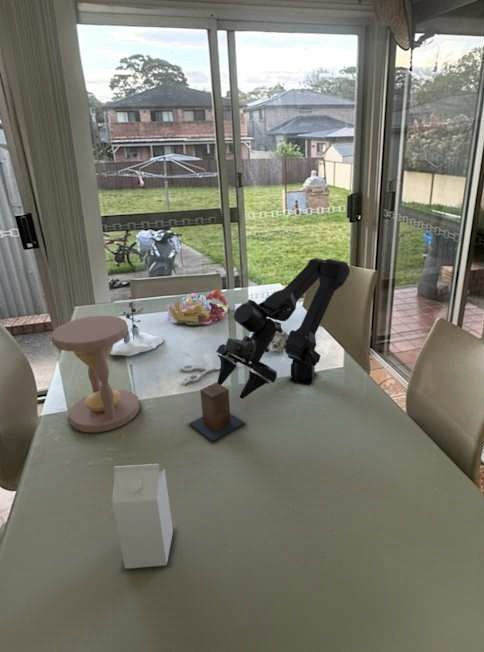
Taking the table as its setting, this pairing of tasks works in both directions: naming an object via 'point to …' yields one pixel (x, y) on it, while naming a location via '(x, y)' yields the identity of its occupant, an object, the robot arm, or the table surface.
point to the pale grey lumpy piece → (279, 342)
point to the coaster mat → (219, 433)
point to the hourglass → (97, 372)
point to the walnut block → (215, 406)
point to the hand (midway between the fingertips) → (229, 391)
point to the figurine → (135, 339)
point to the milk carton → (142, 515)
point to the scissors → (208, 369)
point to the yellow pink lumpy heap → (198, 309)
